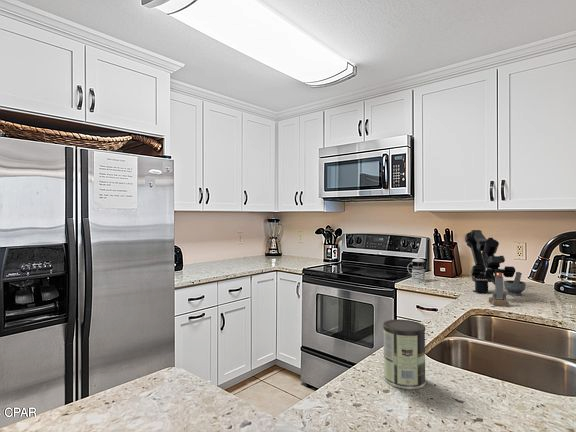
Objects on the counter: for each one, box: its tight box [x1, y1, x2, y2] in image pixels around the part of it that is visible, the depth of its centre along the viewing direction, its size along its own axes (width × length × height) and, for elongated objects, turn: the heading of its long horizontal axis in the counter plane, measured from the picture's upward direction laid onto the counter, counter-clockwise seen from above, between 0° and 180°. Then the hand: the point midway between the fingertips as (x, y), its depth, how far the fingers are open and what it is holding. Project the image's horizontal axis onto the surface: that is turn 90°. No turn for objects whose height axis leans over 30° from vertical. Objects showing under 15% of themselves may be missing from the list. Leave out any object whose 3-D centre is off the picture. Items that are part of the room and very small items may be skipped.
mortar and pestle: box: [503, 271, 527, 297], centre depth 188 cm, size 11×9×12 cm
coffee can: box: [382, 319, 427, 390], centre depth 89 cm, size 10×10×14 cm
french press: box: [407, 243, 426, 282], centre depth 228 cm, size 10×12×25 cm
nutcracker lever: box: [494, 272, 504, 298], centre depth 166 cm, size 3×3×12 cm
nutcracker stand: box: [488, 292, 509, 308], centre depth 167 cm, size 8×6×6 cm
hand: (496, 285), depth 169 cm, fingers closed
